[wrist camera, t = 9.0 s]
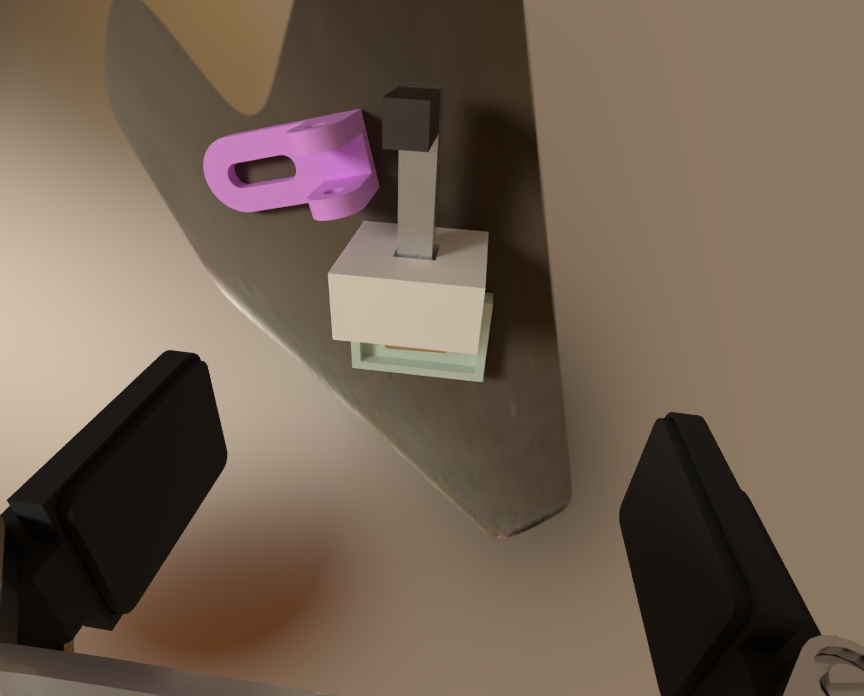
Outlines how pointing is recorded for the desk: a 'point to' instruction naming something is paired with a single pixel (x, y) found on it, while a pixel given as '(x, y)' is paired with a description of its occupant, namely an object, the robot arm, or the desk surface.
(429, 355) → the tray
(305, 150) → the bracket
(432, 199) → the grey upright plate
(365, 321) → the block
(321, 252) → the desk surface
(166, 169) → the desk surface
